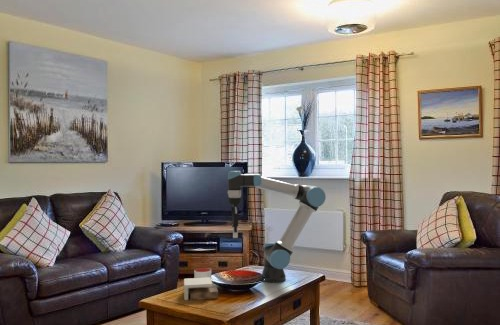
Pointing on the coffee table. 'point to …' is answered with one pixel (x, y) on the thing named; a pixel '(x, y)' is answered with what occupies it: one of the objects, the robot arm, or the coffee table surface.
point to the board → (203, 293)
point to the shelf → (196, 284)
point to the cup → (202, 273)
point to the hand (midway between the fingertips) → (235, 237)
